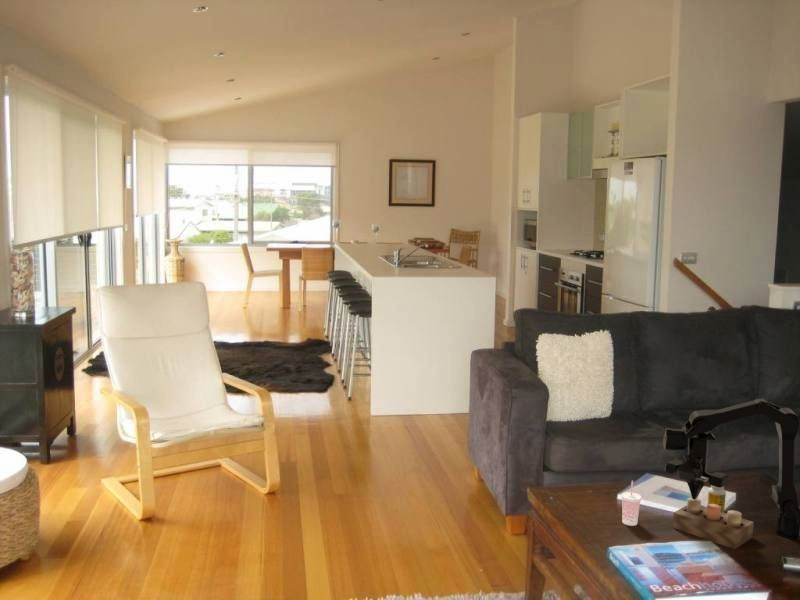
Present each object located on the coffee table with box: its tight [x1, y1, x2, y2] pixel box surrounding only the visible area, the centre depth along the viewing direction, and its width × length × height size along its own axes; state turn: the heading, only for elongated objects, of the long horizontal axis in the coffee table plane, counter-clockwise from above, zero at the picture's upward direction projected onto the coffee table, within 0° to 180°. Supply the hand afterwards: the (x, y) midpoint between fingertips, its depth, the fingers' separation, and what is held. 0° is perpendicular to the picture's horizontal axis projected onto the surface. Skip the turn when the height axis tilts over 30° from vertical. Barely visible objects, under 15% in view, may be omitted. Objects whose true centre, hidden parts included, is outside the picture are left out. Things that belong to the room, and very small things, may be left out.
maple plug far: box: [686, 497, 702, 515], centre depth 255 cm, size 4×4×5 cm
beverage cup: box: [621, 480, 642, 527], centre depth 256 cm, size 6×6×14 cm
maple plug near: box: [726, 509, 742, 529], centre depth 245 cm, size 4×4×5 cm
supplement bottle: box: [707, 485, 727, 513], centre depth 267 cm, size 5×5×10 cm
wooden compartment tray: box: [672, 504, 754, 550], centre depth 250 cm, size 20×12×5 cm, turn 43°
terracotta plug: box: [706, 503, 721, 522], centre depth 250 cm, size 4×4×5 cm
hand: (694, 499), depth 254 cm, fingers closed
